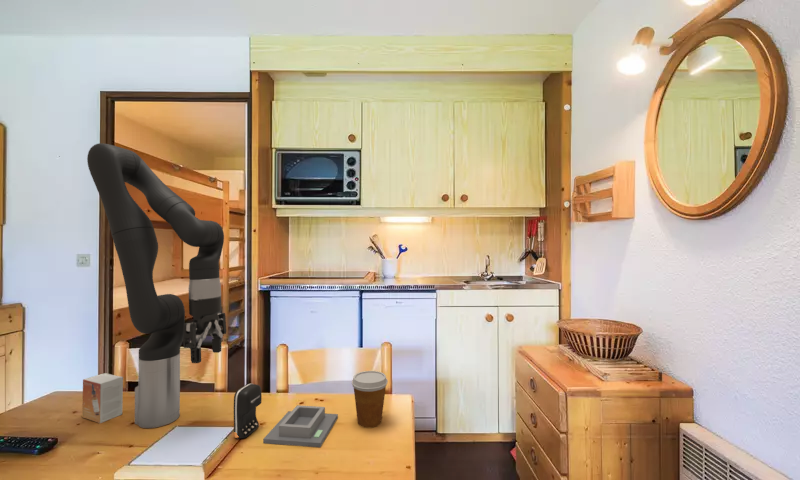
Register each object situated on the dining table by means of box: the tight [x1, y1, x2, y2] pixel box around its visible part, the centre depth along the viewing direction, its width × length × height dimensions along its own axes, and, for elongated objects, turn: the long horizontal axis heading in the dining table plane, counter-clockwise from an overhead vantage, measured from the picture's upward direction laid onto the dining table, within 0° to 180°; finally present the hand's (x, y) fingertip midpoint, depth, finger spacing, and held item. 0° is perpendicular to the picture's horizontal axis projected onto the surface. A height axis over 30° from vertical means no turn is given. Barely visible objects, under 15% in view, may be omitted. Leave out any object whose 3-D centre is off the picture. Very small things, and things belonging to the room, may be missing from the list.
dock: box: [262, 405, 339, 448], centre depth 91 cm, size 14×14×4 cm
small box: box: [81, 372, 124, 424], centre depth 98 cm, size 8×6×10 cm
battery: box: [233, 383, 263, 439], centre depth 89 cm, size 7×4×11 cm, turn 168°
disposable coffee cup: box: [351, 370, 388, 429], centre depth 95 cm, size 10×10×12 cm
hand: (207, 357), depth 94 cm, fingers open, 8 cm apart
